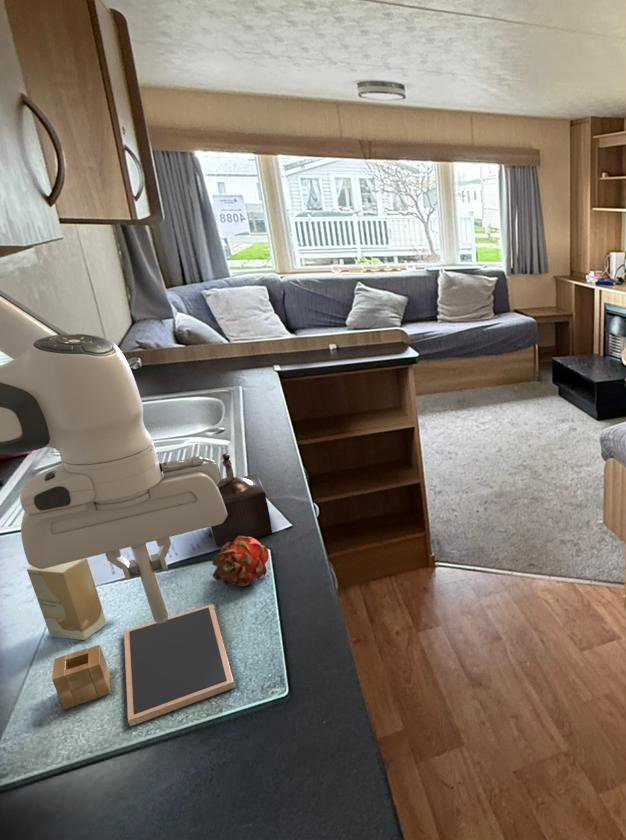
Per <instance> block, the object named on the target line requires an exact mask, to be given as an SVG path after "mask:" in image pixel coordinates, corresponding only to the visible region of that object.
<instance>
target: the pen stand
mask: <svg viewBox="0 0 626 840" xmlns="http://www.w3.org/2000/svg"><path fill="white" fill-rule="evenodd" d="M51 681H52V684H53V686H54V689H55V691H56V693H57V696H58V699H59V701H60V703H61V705H62V708H63V710H67V709H70V708H74V707H76V706H79V705H82V704H84V703H87V702H88V703H89V702H91V701H93V700H96V699H99V698H102V697H106V696H108V695H110V694H111V672H110V669H109V667H108V664H107V660H106V658H105V655H104V652H103V650H102V646H101V644H97V645H94V646H90V647H88V648H83V649H80V650H77V651H75V652H71V653H68V654H64V655H61V656H59V657H55V658H54V659H53V669H52V678H51Z"/></svg>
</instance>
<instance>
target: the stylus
mask: <svg viewBox="0 0 626 840" xmlns="http://www.w3.org/2000/svg"><path fill="white" fill-rule="evenodd" d="M130 550H131V552H132V555H133V560H135V562H136V564H137V567H138V571H139V573H140V576H139V577H140V580H141V583H142V587H143V589H144V592H145V596H146V599H147V602H148V605H149V608H150V611H151V614H152V618H153V620H154V621H153V622H157V623H164V622H166V621H167V619H168V618H169V612H168V609H167V606H166V603H165V599H164V596H163V593H162V589H161V587H160V583H159V580H158V577H157V572H154V570H153V566H152V564H151V557H150V555H151V554H150V551H149V547H148V543H144V544H140V545H136V546H132V547H130Z"/></svg>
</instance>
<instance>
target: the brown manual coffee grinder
mask: <svg viewBox="0 0 626 840" xmlns="http://www.w3.org/2000/svg"><path fill="white" fill-rule="evenodd" d="M230 457H231V456H230V454H228V453H226V452H225V453H223V454H222V456H221V458H222V465H223V466H224V468H225V473H226V477H224V478H221V480H220V483H219V484H218V485H217V487H218V489H219V492H220V494H221V496H222V499H223V502H224V505H225V508H226V511H227V517H226V519H225V521H224V522H223V523H222V524H219V525H215V526H211V527H209V530H207V531H206V533H207V536H208V538H210V540H211V541H212V544H213V545H214V546H215V547H216V548H219V547H223V546H224V545H225V544H226V543H227V542H234V541H235V539H236V538H237V537H238V536H245V537H251V538H254V539H255V540H256V539H259V538H262V537H265V536H268V535H271V534H273V527H272V521H271V516H270V510H269V504H268V500H267V496H266V492H265V488H264V486H263V484H262V481H261V480H260V478H259V477H258V475H257V474H251V475H245V476H240V477H239V476H234V474H235V473H234V470H233V469H234V468H233V466H232V462H231V461H232V460H231V459H230Z"/></svg>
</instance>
